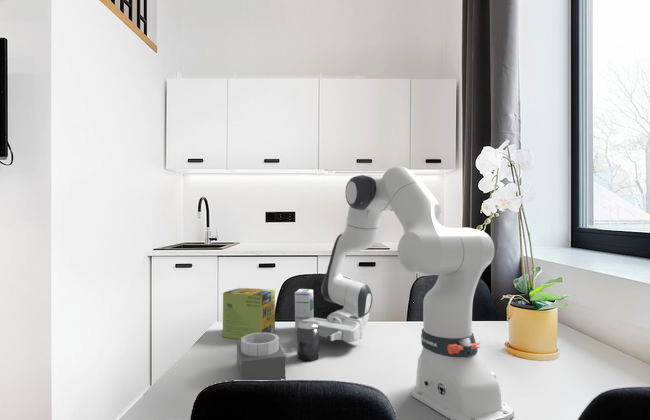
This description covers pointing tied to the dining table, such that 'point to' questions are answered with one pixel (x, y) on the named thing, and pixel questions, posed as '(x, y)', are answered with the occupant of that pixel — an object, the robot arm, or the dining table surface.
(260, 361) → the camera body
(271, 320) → the protein box
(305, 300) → the syrup box
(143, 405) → the dining table surface
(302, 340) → the dark grey metallic cylinder
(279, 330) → the dining table surface
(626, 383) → the dining table surface
